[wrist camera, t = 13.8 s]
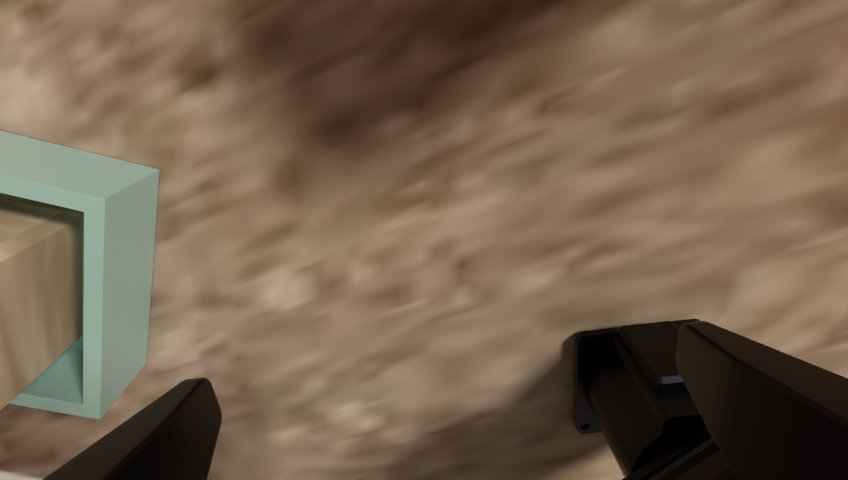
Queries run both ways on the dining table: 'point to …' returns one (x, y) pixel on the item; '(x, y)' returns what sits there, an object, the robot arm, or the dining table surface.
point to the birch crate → (37, 288)
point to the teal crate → (93, 267)
